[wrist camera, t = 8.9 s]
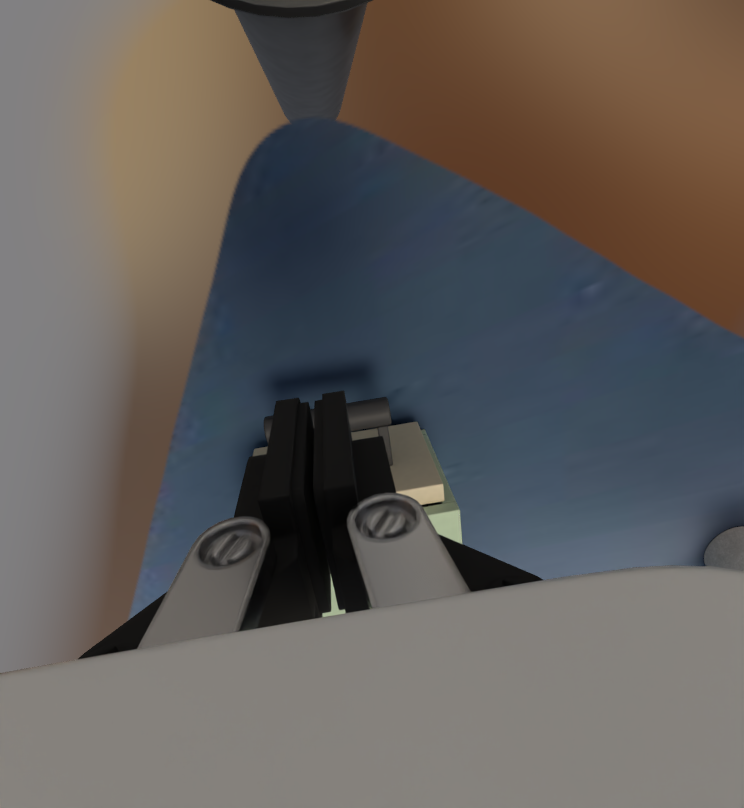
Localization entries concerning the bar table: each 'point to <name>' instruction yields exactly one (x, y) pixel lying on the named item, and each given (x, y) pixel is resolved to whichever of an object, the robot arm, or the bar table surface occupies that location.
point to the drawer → (392, 449)
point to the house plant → (727, 550)
